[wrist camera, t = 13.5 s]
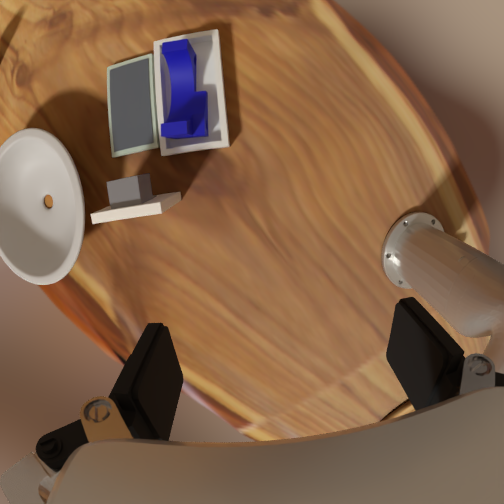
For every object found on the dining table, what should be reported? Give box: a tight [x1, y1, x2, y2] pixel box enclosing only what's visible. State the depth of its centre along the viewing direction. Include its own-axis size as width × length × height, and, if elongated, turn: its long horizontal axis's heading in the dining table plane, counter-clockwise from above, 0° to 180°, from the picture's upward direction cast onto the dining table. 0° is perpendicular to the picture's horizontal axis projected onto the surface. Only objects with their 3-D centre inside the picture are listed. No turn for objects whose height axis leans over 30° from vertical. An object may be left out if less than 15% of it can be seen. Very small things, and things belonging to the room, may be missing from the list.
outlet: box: [91, 173, 181, 224], centre depth 32 cm, size 9×4×9 cm, turn 95°
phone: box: [107, 54, 160, 158], centre depth 31 cm, size 7×14×1 cm, turn 5°
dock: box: [154, 29, 230, 156], centre depth 31 cm, size 9×17×2 cm, turn 5°
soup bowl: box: [0, 128, 85, 285], centre depth 33 cm, size 24×24×7 cm
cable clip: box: [161, 39, 208, 139], centre depth 29 cm, size 12×4×6 cm, turn 1°
